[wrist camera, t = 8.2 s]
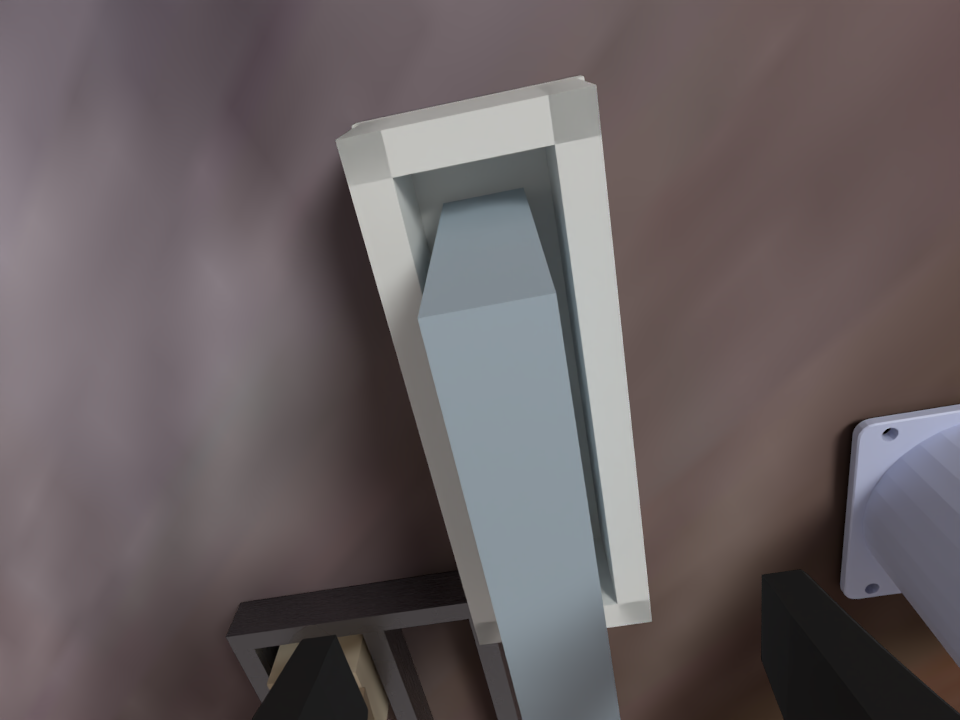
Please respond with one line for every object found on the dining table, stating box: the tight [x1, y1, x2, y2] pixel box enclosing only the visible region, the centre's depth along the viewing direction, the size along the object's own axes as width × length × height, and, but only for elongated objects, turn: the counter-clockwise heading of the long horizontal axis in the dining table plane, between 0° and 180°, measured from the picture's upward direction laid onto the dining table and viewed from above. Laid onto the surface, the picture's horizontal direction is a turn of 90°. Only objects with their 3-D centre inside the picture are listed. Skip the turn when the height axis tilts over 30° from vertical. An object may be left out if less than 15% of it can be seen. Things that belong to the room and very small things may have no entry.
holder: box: [335, 75, 652, 645], centre depth 18 cm, size 6×16×4 cm, turn 11°
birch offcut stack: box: [267, 634, 389, 720], centre depth 24 cm, size 4×4×5 cm
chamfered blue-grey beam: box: [418, 188, 620, 720], centre depth 16 cm, size 2×12×8 cm, turn 11°
